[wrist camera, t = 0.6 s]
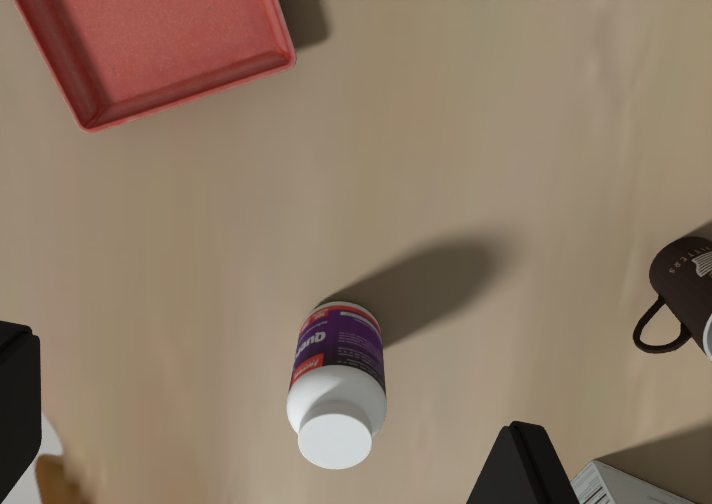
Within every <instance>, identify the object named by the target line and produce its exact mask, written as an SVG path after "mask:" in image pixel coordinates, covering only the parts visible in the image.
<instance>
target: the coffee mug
mask: <svg viewBox="0 0 712 504" xmlns="http://www.w3.org/2000/svg"><path fill="white" fill-rule="evenodd" d="M649 279H650V283H651V285H652V287H653V288H654V290H655V291H656V292H657V293H658V295H659V296H658V300H657V301H656V302H655V303H654V305H653V306H651V308H650V309H649V310H648V311H647V312H646V313H645V314H644V315H643V317H642V318H641V319H640V320H639V322H638V324H637V326H636V328H635V330H634V333H633V340H634V343H635V345H636V346H637V347H638V348H639V349H641V350H642V351H644V352H647V353H654V354H658V353H666V352H671V351H674V350H676V349H678V348H680V347H681V346H682V345H683V344H685V343H686V342H687V341H688V340H689V339H690V338H693V339H694V340H695V342H696V343H697V344H698V346H699V347H700V348H701V349H702V351H703V352H704V353H705V354H706V356H707V357H708V358H709V359H710V360H711V362H712V241H709V240H707V239H704V238H700V237H687V238H682V239H679V240H676V241H674V242H672V243H670V244H669V245H667V246H666V247H665V248H663V249H662V250H661V251H660V252H659V253H658V254H657V256H656V257H655V258H654V260H653V262H652V264H651V267H650V271H649ZM664 304H666V305H667V306H668V307H669V309H670V310H671V311H672V313H673V314H674V315H675V316H676V318H677V319H678V320H679V321H680V323H681V332H680V335H679V337H678V338H677V339H676V340H674V341H673V342H671V343H669V344H666V345H661V346H651V345H647V344H645V343H643V342H642V341H641V340H640V335H641V332H642V329H643V328H644V326H645V325H646V324H647V323H648V321H649V320H650V319H651V318H652V317H653V316H654V315H655V313H656V312H657V311H658V310H659V309H660V308H661V307H662V306H663V305H664Z"/></svg>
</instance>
